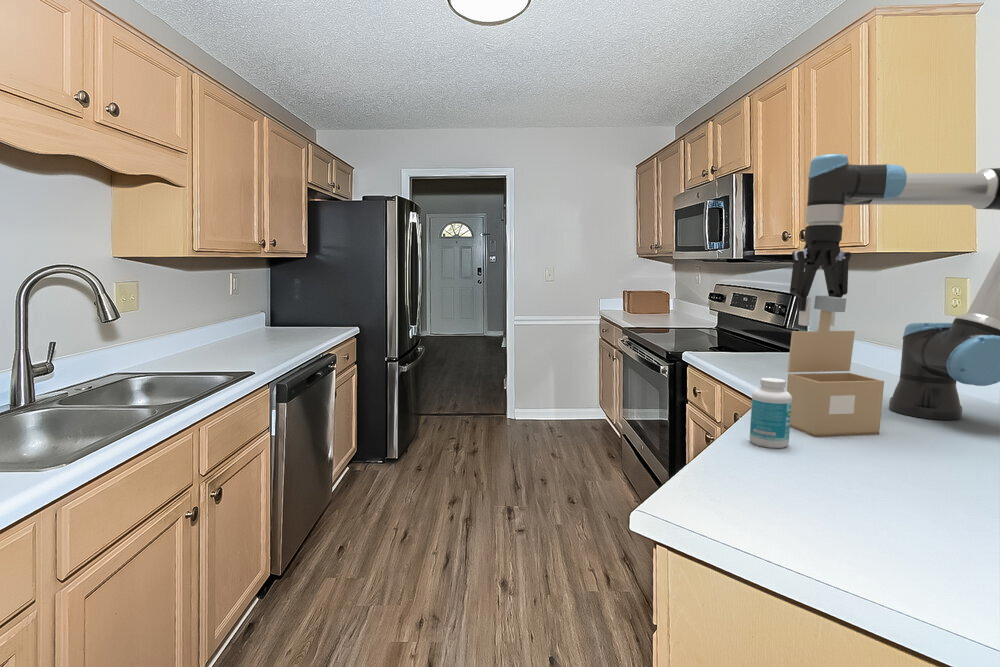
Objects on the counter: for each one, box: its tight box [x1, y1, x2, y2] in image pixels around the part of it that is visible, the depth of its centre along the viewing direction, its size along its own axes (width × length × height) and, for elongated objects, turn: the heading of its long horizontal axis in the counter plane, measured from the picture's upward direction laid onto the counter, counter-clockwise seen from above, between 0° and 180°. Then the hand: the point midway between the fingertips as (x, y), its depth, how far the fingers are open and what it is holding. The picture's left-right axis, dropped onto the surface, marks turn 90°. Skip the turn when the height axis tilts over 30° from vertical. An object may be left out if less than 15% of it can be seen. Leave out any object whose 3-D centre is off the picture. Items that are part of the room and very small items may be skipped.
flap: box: [787, 295, 856, 373], centre depth 132 cm, size 16×18×6 cm
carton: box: [786, 372, 885, 438], centre depth 130 cm, size 16×10×12 cm, turn 100°
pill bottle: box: [749, 377, 792, 449], centre depth 119 cm, size 8×7×14 cm
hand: (816, 325), depth 135 cm, fingers open, 6 cm apart
